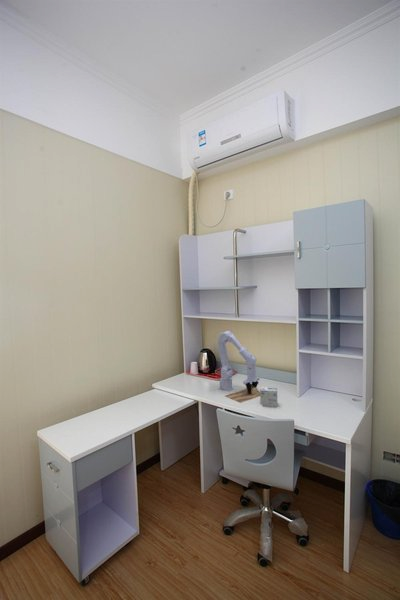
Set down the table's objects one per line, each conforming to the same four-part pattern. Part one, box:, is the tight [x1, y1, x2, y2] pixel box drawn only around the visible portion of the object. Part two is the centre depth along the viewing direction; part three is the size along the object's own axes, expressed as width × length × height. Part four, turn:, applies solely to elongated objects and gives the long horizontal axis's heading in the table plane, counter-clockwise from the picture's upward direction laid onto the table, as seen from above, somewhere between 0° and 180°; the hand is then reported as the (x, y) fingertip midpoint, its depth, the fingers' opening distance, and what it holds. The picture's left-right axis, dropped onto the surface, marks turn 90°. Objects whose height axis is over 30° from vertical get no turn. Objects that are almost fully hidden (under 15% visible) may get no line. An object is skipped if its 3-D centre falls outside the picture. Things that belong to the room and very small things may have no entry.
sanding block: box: [245, 386, 258, 395], centre depth 216 cm, size 7×4×4 cm, turn 37°
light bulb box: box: [259, 386, 278, 408], centre depth 197 cm, size 11×7×11 cm, turn 74°
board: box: [224, 388, 260, 404], centre depth 212 cm, size 16×24×1 cm, turn 127°
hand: (251, 392), depth 216 cm, fingers closed on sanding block, 4 cm apart
